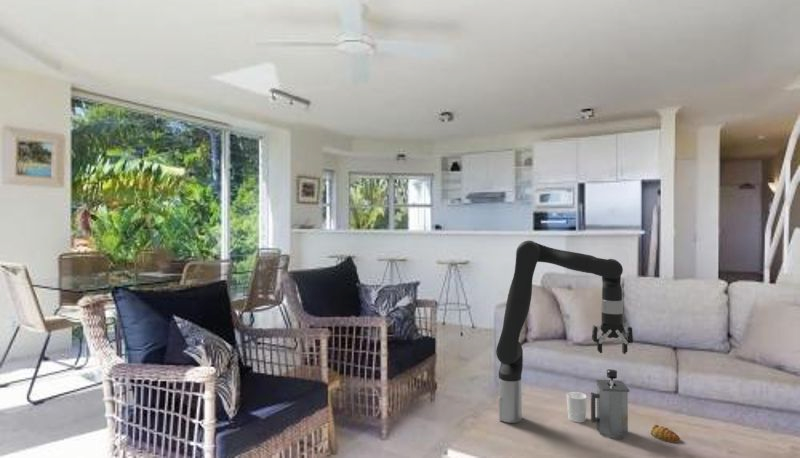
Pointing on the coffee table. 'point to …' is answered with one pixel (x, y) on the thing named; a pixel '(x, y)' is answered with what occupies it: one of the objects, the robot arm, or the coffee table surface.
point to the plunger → (611, 375)
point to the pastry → (664, 434)
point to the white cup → (576, 406)
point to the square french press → (611, 409)
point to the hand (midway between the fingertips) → (612, 353)
